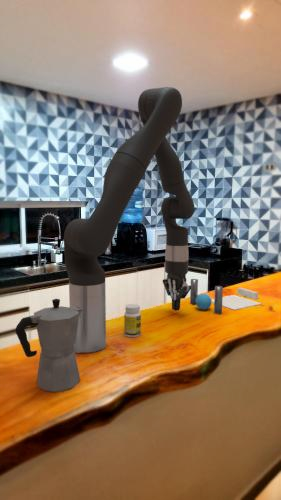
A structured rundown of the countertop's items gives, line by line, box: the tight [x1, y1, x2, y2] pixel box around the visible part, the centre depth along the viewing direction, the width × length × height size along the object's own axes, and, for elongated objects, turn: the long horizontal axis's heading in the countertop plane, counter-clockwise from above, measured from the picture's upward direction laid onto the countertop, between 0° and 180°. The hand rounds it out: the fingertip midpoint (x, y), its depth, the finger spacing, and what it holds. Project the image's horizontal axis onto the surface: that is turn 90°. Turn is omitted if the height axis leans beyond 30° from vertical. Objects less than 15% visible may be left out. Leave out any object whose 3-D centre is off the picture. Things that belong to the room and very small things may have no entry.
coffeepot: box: [15, 298, 84, 393], centre depth 76 cm, size 15×9×18 cm, turn 134°
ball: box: [195, 293, 213, 310], centre depth 127 cm, size 6×6×6 cm
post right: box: [213, 285, 224, 315], centre depth 123 cm, size 3×3×9 cm
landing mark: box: [211, 294, 263, 311], centre depth 136 cm, size 14×14×1 cm
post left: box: [189, 278, 199, 306], centre depth 133 cm, size 3×3×9 cm
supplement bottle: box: [123, 303, 142, 338], centre depth 104 cm, size 5×5×8 cm
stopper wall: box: [237, 287, 259, 300], centre depth 144 cm, size 2×9×2 cm, turn 32°
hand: (175, 309), depth 122 cm, fingers closed
